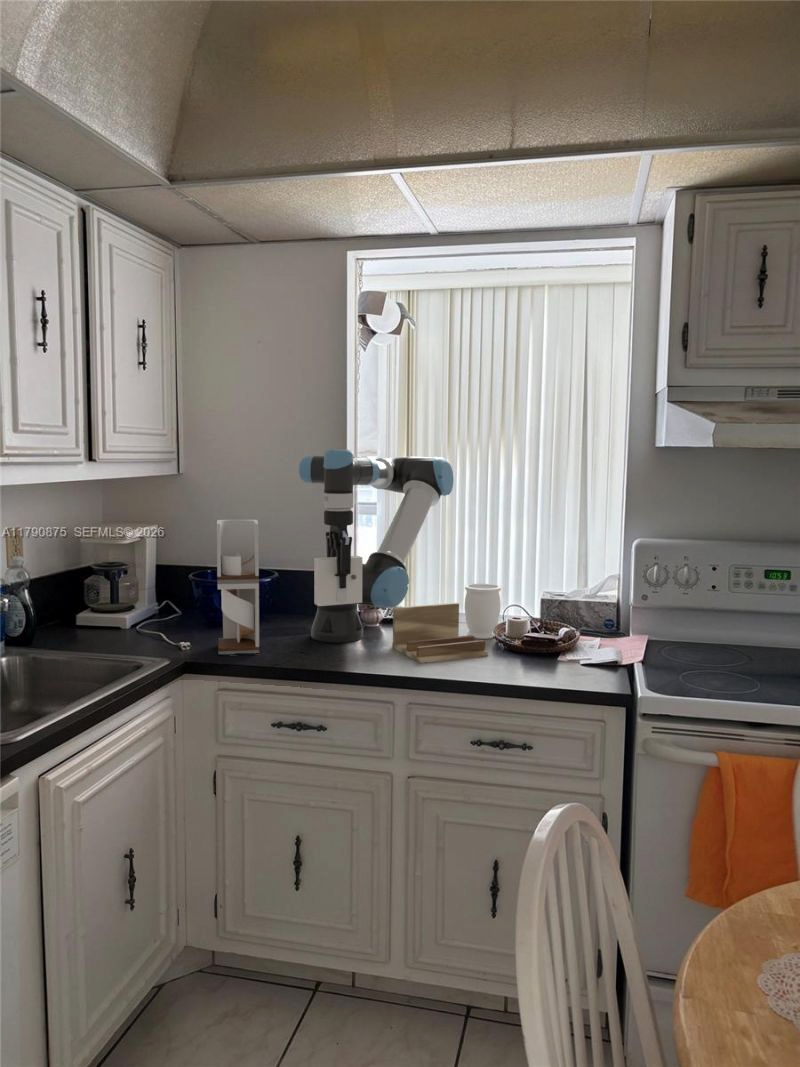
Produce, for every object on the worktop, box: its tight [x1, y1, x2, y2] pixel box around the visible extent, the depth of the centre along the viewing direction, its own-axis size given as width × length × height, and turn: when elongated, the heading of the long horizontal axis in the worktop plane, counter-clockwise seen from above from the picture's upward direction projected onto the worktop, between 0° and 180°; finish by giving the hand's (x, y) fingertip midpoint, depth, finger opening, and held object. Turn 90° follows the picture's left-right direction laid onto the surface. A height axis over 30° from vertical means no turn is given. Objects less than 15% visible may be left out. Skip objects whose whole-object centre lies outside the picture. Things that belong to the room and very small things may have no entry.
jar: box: [464, 583, 502, 640], centre depth 235 cm, size 11×10×15 cm
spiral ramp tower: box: [216, 519, 260, 654], centre depth 215 cm, size 11×11×35 cm
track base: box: [391, 602, 489, 664], centre depth 217 cm, size 18×20×11 cm
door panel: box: [313, 555, 363, 606], centre depth 207 cm, size 4×12×12 cm, turn 115°
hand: (338, 598), depth 208 cm, fingers closed on door panel, 3 cm apart
